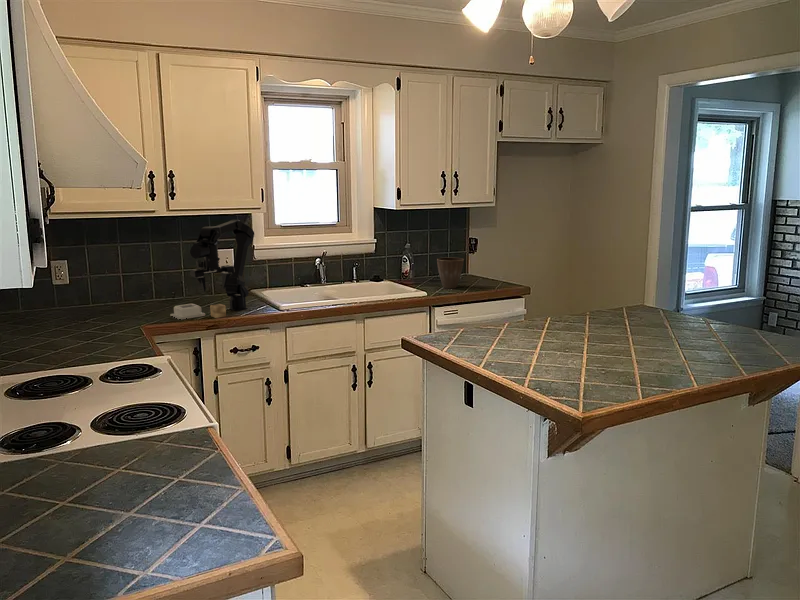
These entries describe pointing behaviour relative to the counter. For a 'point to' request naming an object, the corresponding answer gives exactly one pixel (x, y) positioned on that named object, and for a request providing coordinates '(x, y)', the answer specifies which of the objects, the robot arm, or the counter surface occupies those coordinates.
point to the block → (218, 310)
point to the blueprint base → (187, 311)
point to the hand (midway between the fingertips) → (214, 290)
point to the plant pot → (450, 271)
